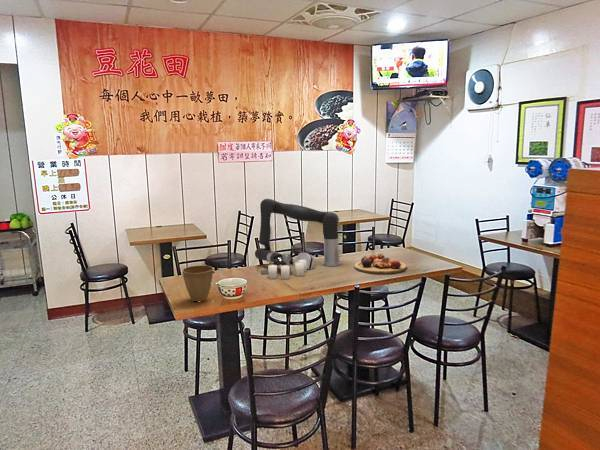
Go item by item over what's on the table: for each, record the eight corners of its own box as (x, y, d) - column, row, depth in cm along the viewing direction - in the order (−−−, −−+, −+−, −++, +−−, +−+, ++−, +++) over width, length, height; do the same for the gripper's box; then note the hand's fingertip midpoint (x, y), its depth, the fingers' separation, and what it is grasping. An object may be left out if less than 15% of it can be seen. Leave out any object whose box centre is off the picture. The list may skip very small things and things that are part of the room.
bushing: (290, 272, 263) (290, 253, 261) (292, 275, 258) (291, 255, 256) (282, 273, 262) (281, 253, 260) (283, 275, 257) (282, 255, 255)
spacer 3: (303, 273, 260) (302, 262, 259) (304, 275, 255) (304, 264, 254) (294, 274, 259) (294, 262, 258) (296, 276, 254) (295, 264, 253)
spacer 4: (305, 270, 267) (305, 259, 266) (307, 272, 263) (307, 261, 261) (297, 270, 267) (297, 259, 266) (299, 273, 262) (298, 261, 261)
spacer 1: (276, 276, 257) (276, 264, 255) (277, 278, 252) (277, 266, 251) (268, 276, 256) (267, 265, 255) (269, 279, 251) (268, 267, 250)
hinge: (293, 264, 282) (297, 249, 282) (299, 266, 284) (303, 251, 284) (305, 270, 267) (309, 254, 267) (311, 272, 269) (316, 256, 269)
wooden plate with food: (417, 271, 260) (417, 257, 259) (370, 277, 249) (370, 263, 248) (388, 261, 289) (388, 248, 288) (345, 265, 279) (345, 253, 277)
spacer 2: (289, 276, 255) (288, 264, 254) (290, 278, 250) (290, 267, 249) (280, 277, 254) (280, 265, 253) (281, 279, 249) (281, 267, 248)
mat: (273, 270, 270) (273, 269, 270) (274, 273, 262) (274, 273, 262) (260, 271, 268) (260, 270, 268) (261, 274, 261) (261, 274, 260)
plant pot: (183, 306, 208) (180, 273, 206) (185, 296, 223) (183, 266, 220) (214, 303, 211) (213, 271, 209) (215, 294, 226) (213, 264, 223)
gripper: (264, 254, 267) (278, 259, 252) (284, 250, 274) (299, 255, 260) (265, 265, 268) (278, 271, 254) (285, 262, 275) (299, 267, 261)
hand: (288, 263), depth 257 cm, fingers closed on bushing, 4 cm apart
